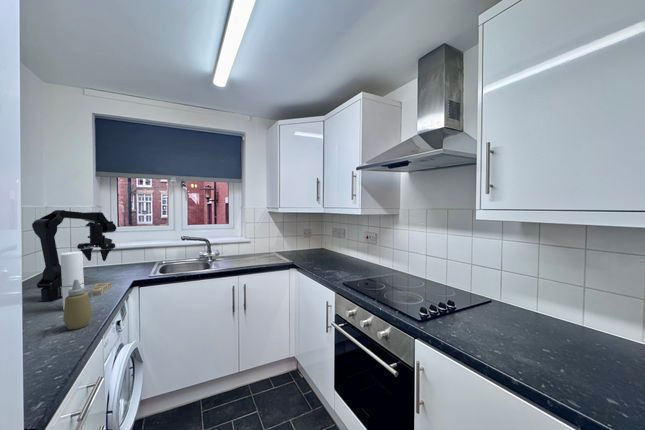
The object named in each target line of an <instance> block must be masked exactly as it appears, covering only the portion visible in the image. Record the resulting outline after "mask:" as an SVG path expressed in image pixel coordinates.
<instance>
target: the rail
mask: <svg viewBox="0 0 645 430" xmlns="http://www.w3.org/2000/svg"><path fill="white" fill-rule="evenodd" d="M93 285H94V290H93V296H99V295H102V294H104V293H105V292H106V291H108V290H109V289H111V288H113V282H112V281H111V282H108V281H107V282H100V283H99V282H97V283H95V284H93Z"/></svg>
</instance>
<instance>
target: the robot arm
mask: <svg viewBox="0 0 645 430" xmlns="http://www.w3.org/2000/svg"><path fill="white" fill-rule="evenodd" d="M64 219H70V220H71V219H74V220H81V221H82V220H83V221H85V222H88V223H86V224H85V227H89V235H88V236H87V238H88V239H89V242H82V243H78V244H77V246H76V247H77V250H79V251H80V252H82V255H84V256H85V258H86V259H87V261H88V262H89V261H92V251H93V250H94V248H99V249H100V250H99V251H100V254H101V255H100V256H101V260H102V261H103V262H105V261H106V260H107V258H108V255H109V253H110V252H111V251H112V250H114V249H115V248H116V243H114V242H113V239H112V238H109V237H106V236H105V234H108V233H115V232H116V231H117V225H116V224H115V222H114V221H111V220H108V219H107V217H106V216H105V215H104V213H103V212H100V211H99V212H98V211H94V212H93V211H91V212H90V211H89V212H82V211H74V210H73V211H71V210H64V209H55V210H53V211H52V212H51V213H48V214H46V215H45V216H41V217H40V218H39V219H36V220H34V221H33V222H32V223H31V228H32V230H33V232H34V234H36V236H37V237H38V238H39V241H40V245H41V251H42V255H43V260H44V266H45V267H44V269H43V272H42V278H41V279H40V280H39V281H38V282H37V283H36V287H37V289H40V294H41V295H40V296H41V299H40V300H38V303H41V302H42V303H43V302H45V303H49V302H55V301H57V300H59V299H63V295H62V275H61V263H60V258H59V254H58V250H57V249H58V248H57V243H56V239H55V237H56V234H57V232H58V226H59V225H61V224H63V221H64Z"/></svg>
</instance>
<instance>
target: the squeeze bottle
mask: <svg viewBox="0 0 645 430" xmlns="http://www.w3.org/2000/svg"><path fill="white" fill-rule="evenodd" d="M68 295H69V296H67V297H66V298H65V307H64V310H63V323H64V324H65V326H66V328H67V329H68V330H78V329H81V328H84V327H86V326H89V323H90V320H91V317H92V314H93V313H92V306H91V301H90V298H89V295H88V294H87V293H85V288H81V286H80V283H79V280H74V283H73V287H72V289H71V290H69V291H68Z"/></svg>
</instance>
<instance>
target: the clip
mask: <svg viewBox="0 0 645 430" xmlns="http://www.w3.org/2000/svg"><path fill="white" fill-rule="evenodd" d="M94 285H95V284H86V285H84V288H85V293H87V294H88V295H89V299H90V298H93V297H94V295H93V290H94Z"/></svg>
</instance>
